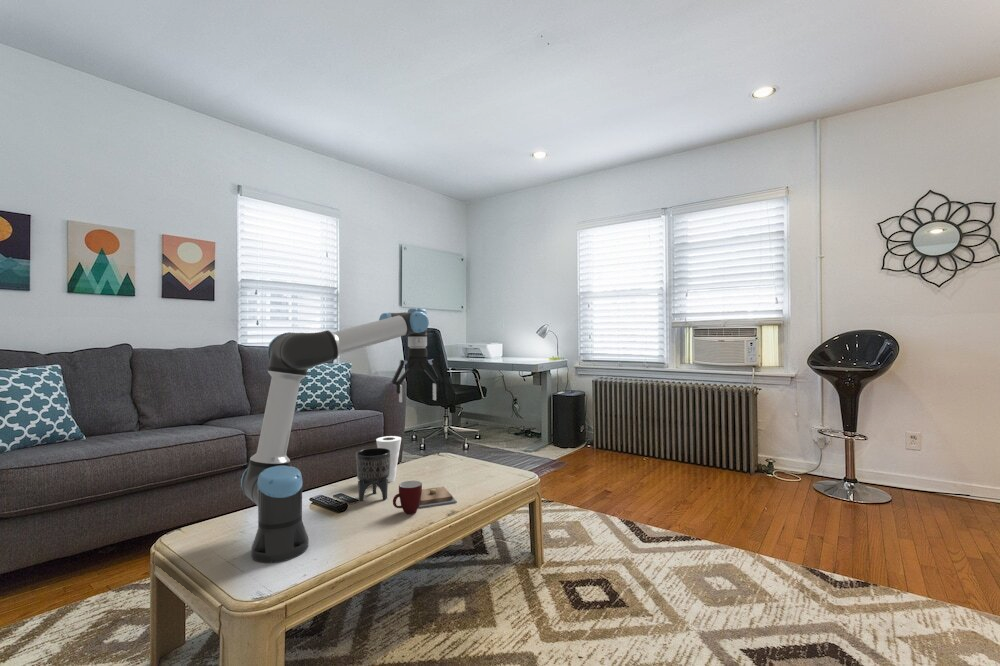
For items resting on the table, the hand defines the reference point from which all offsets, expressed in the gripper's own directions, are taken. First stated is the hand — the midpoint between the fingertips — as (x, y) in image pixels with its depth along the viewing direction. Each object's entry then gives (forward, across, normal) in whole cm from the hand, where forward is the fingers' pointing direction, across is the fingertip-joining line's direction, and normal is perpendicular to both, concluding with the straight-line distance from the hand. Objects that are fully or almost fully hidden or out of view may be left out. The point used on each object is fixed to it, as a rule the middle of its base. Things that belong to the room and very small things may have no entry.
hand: (417, 401), depth 184 cm
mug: (+37, -8, -19) cm, 42 cm away
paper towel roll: (+37, -8, +21) cm, 43 cm away
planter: (+37, -17, +2) cm, 41 cm away
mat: (+37, +4, -8) cm, 38 cm away
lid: (+36, +4, -8) cm, 37 cm away
